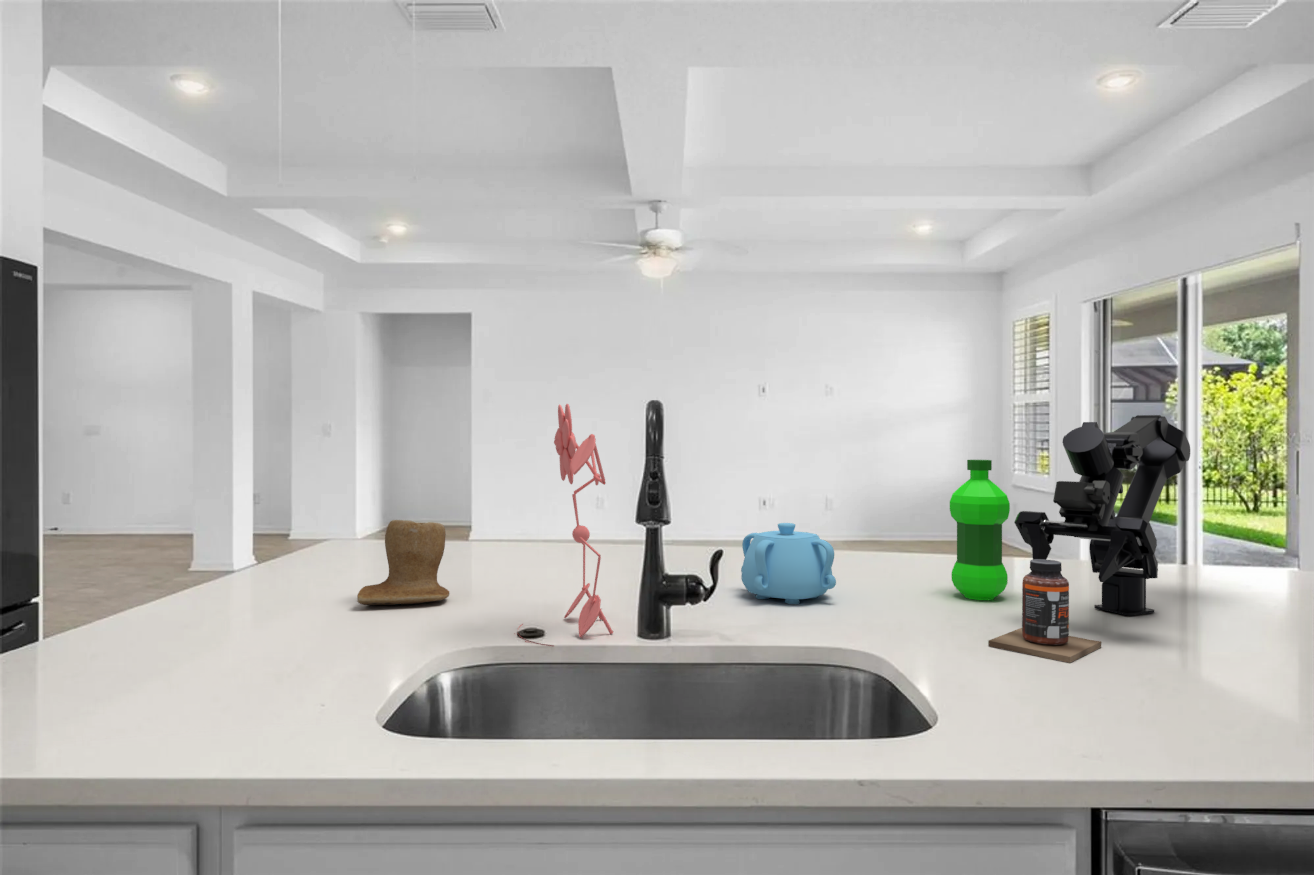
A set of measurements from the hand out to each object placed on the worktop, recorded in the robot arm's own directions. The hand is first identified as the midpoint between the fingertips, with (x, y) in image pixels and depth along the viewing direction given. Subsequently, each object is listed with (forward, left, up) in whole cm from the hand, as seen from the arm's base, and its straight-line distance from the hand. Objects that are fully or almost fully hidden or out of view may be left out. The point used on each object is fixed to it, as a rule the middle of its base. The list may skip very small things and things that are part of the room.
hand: (1067, 576), depth 118 cm
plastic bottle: (-8, -26, -9) cm, 29 cm away
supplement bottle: (+7, +3, -8) cm, 12 cm away
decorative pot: (+24, -40, -9) cm, 47 cm away
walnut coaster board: (+8, +3, -9) cm, 12 cm away
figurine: (+68, -33, -9) cm, 76 cm away
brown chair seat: (+89, -63, -9) cm, 109 cm away
